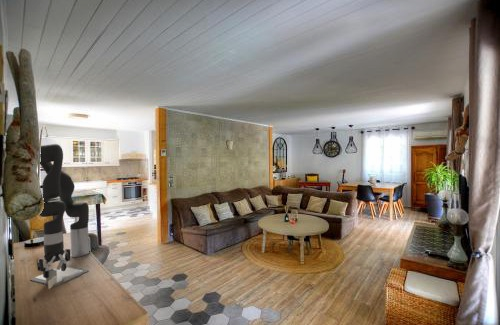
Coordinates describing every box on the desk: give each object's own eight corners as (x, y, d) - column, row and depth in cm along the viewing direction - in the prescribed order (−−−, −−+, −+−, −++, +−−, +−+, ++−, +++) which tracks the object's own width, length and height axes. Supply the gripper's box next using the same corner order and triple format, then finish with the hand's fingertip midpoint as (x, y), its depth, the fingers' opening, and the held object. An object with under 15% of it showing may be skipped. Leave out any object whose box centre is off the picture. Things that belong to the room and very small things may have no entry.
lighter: (46, 281, 115) (45, 264, 115) (46, 279, 117) (45, 263, 116) (64, 276, 120) (63, 260, 120) (64, 274, 121) (63, 259, 121)
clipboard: (64, 266, 134) (64, 263, 134) (88, 271, 127) (88, 268, 127) (29, 280, 119) (29, 276, 119) (55, 286, 112) (55, 283, 112)
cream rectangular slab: (55, 283, 115) (55, 276, 115) (56, 283, 115) (56, 275, 115) (48, 288, 110) (48, 281, 110) (50, 288, 110) (49, 281, 110)
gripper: (64, 236, 126) (65, 267, 126) (31, 245, 113) (33, 280, 113) (73, 237, 123) (75, 268, 124) (41, 247, 110) (43, 282, 110)
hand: (55, 274), depth 118 cm, fingers closed on lighter, 7 cm apart
